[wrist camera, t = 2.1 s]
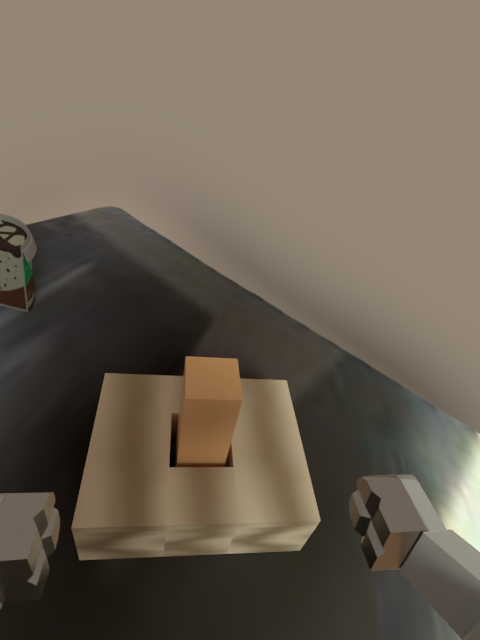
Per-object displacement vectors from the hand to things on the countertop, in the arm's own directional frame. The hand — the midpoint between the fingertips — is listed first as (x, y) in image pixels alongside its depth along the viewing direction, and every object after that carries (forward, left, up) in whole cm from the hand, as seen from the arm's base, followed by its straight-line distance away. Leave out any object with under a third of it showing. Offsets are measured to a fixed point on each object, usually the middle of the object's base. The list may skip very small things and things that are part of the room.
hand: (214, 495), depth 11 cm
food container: (-46, -5, -25) cm, 53 cm away
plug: (-12, +7, -25) cm, 29 cm away
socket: (-12, +7, -25) cm, 29 cm away
